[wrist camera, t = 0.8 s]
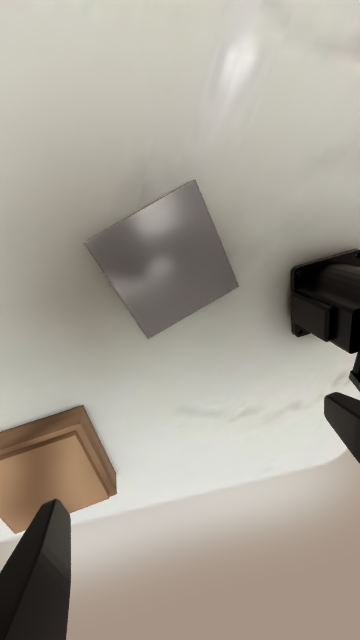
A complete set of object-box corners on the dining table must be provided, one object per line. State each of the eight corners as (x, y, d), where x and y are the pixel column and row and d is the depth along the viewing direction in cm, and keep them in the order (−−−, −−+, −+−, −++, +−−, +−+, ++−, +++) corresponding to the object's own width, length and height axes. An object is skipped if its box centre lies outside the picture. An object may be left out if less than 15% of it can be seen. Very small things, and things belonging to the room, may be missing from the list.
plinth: (82, 405, 22) (79, 428, 19) (116, 474, 25) (116, 499, 23) (-33, 443, 20) (-51, 471, 18) (20, 508, 24) (11, 539, 22)
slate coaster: (191, 180, 17) (195, 179, 16) (234, 283, 21) (238, 286, 20) (84, 241, 17) (83, 242, 16) (146, 334, 21) (147, 339, 20)
